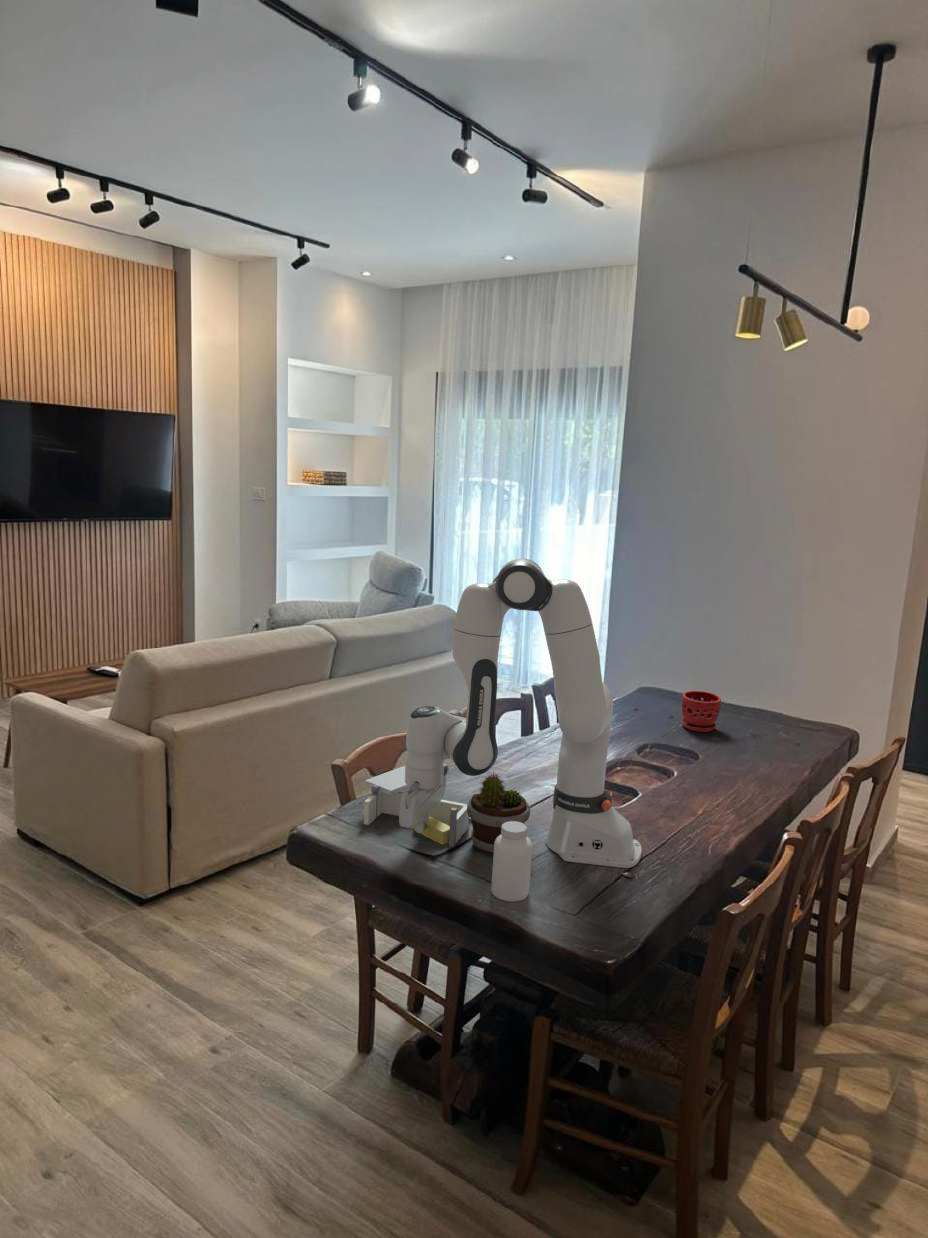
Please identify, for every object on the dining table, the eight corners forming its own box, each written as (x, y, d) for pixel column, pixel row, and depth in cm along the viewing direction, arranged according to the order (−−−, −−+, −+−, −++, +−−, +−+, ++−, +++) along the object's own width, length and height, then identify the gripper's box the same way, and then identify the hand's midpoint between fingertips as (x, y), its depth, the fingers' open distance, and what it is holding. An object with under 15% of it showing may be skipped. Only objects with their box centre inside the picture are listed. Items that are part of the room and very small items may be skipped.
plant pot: (672, 723, 295) (675, 691, 292) (704, 721, 299) (707, 689, 296) (692, 735, 282) (696, 701, 280) (725, 733, 286) (729, 700, 284)
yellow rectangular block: (452, 841, 196) (453, 828, 195) (442, 845, 194) (442, 832, 193) (424, 826, 203) (424, 813, 202) (413, 830, 200) (414, 817, 200)
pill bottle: (497, 904, 169) (502, 836, 166) (486, 885, 176) (490, 819, 173) (534, 901, 171) (539, 833, 168) (521, 881, 178) (526, 816, 175)
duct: (468, 828, 203) (470, 793, 201) (453, 846, 193) (455, 810, 191) (379, 810, 211) (380, 776, 209) (360, 827, 200) (361, 792, 199)
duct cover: (423, 763, 225) (423, 758, 225) (449, 772, 219) (449, 767, 219) (359, 786, 207) (359, 781, 207) (385, 797, 201) (385, 792, 201)
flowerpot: (489, 826, 204) (493, 749, 200) (540, 847, 195) (546, 766, 191) (451, 846, 193) (455, 764, 189) (503, 868, 184) (509, 783, 180)
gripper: (419, 793, 182) (417, 851, 185) (451, 763, 201) (448, 816, 204) (393, 788, 184) (391, 846, 187) (427, 759, 203) (424, 812, 206)
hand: (421, 830), depth 196 cm, fingers closed
